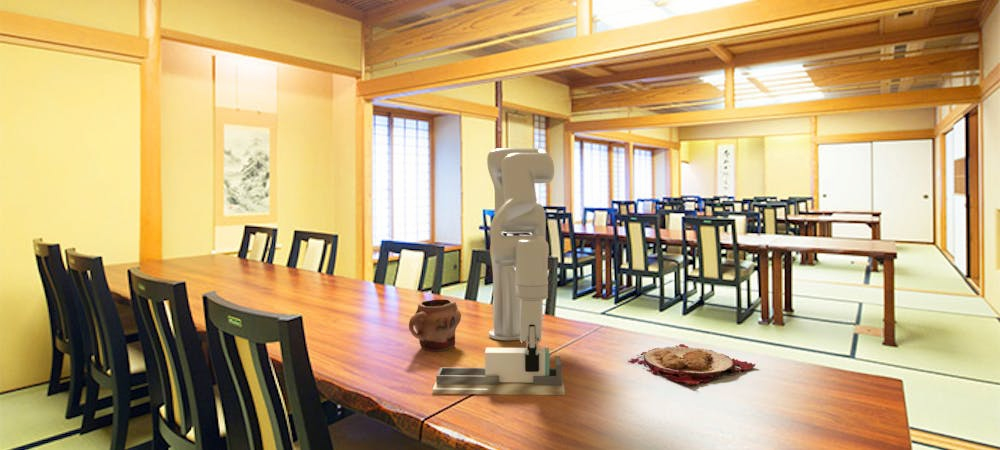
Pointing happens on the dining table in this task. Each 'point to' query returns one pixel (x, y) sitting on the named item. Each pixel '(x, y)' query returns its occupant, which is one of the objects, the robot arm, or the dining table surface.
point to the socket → (551, 375)
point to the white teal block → (514, 364)
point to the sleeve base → (485, 384)
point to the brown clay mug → (435, 324)
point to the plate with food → (690, 363)
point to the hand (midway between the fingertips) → (532, 367)
